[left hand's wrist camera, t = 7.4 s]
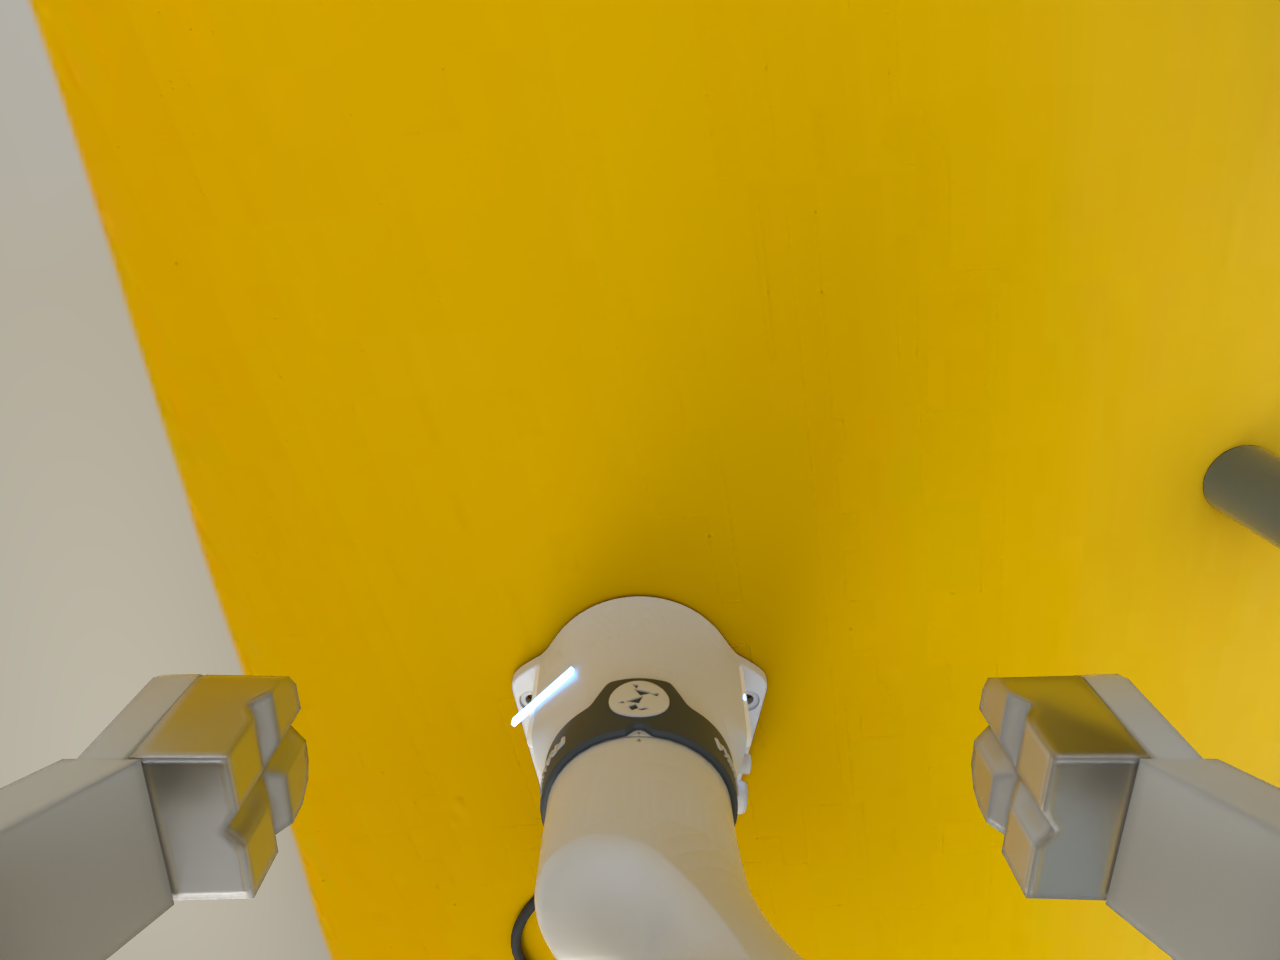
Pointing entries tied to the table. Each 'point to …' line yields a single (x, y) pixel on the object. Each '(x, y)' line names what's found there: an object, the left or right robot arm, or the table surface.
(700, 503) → the table surface
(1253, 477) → the jar
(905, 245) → the table surface
